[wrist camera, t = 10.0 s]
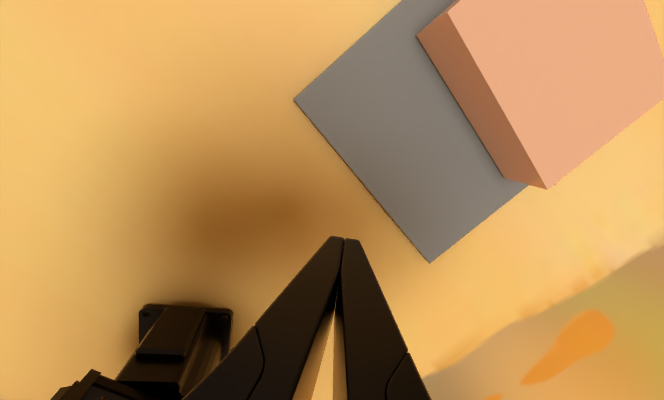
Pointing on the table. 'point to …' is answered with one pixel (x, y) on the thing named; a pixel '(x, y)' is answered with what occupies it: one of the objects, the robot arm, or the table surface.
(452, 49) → the salmon pink block
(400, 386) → the robot arm
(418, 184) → the mat
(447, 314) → the table surface
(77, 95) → the table surface
